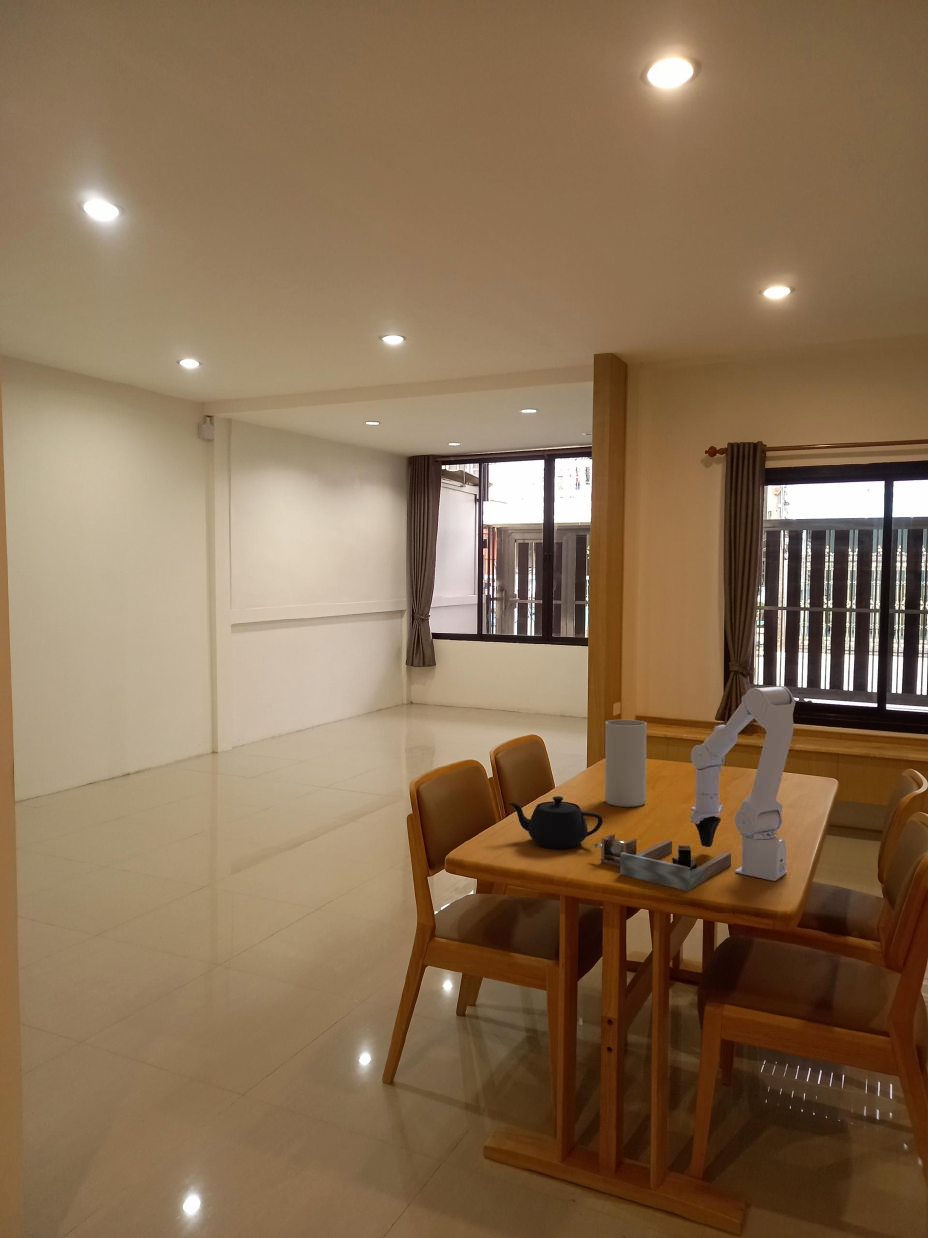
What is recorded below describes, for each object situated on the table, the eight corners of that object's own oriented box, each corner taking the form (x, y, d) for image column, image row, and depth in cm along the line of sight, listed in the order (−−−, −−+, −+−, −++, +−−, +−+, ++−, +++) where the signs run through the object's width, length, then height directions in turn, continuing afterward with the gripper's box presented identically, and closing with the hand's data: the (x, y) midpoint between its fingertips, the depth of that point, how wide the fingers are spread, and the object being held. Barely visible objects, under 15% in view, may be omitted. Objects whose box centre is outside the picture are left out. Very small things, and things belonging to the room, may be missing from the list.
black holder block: (668, 858, 217) (668, 839, 217) (698, 860, 215) (698, 841, 215) (670, 874, 205) (670, 854, 204) (702, 876, 203) (702, 856, 203)
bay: (731, 865, 209) (731, 844, 209) (688, 891, 191) (688, 868, 191) (666, 851, 220) (666, 832, 220) (620, 874, 202) (620, 853, 202)
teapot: (606, 838, 231) (606, 793, 231) (598, 856, 216) (598, 807, 216) (515, 831, 238) (515, 787, 238) (501, 847, 224) (501, 800, 223)
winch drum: (636, 863, 210) (636, 839, 210) (626, 868, 206) (626, 844, 206) (603, 856, 216) (603, 832, 216) (592, 861, 212) (592, 836, 212)
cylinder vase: (638, 809, 261) (638, 727, 260) (599, 804, 267) (599, 724, 266) (651, 800, 272) (651, 721, 271) (613, 796, 278) (613, 718, 277)
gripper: (704, 785, 226) (704, 836, 226) (679, 795, 215) (678, 849, 215) (730, 789, 221) (730, 841, 222) (706, 800, 210) (705, 855, 211)
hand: (706, 846), depth 218 cm, fingers closed
